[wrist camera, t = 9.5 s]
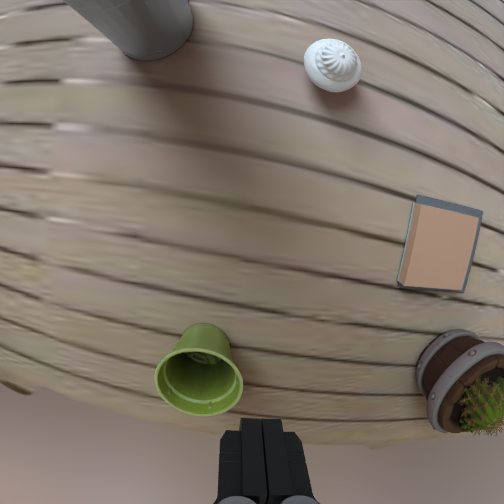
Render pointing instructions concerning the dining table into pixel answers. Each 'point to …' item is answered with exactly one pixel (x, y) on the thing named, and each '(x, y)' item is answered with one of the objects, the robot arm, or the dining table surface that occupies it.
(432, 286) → the tile
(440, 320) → the dining table surface
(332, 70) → the white citrus juicer
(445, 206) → the mat
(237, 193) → the dining table surface
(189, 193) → the dining table surface
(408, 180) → the dining table surface
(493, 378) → the flowerpot
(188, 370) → the plant pot
